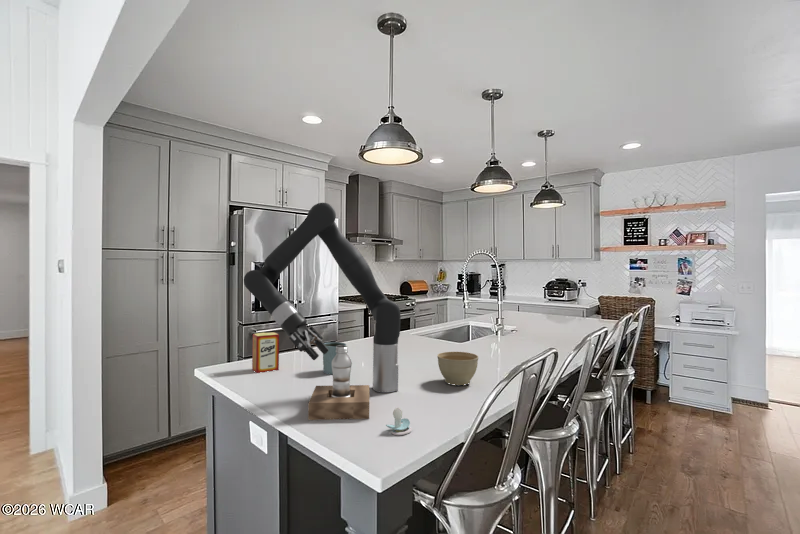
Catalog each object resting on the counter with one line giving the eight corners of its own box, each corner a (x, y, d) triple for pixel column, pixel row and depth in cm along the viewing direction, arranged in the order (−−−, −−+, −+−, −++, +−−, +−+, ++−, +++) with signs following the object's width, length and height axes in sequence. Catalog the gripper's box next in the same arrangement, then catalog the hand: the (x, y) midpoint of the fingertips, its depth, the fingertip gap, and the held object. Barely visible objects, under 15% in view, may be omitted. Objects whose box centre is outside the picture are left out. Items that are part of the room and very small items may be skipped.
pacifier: (416, 432, 109) (402, 424, 113) (417, 409, 109) (403, 403, 113) (397, 439, 104) (382, 431, 109) (398, 416, 104) (383, 409, 108)
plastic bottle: (341, 404, 130) (342, 343, 130) (355, 408, 125) (356, 346, 125) (326, 409, 125) (326, 346, 125) (340, 414, 120) (341, 349, 120)
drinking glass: (321, 369, 173) (321, 342, 173) (343, 368, 176) (344, 341, 176) (323, 375, 163) (323, 346, 163) (347, 374, 166) (348, 345, 166)
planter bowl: (476, 377, 163) (476, 351, 163) (480, 390, 147) (480, 360, 147) (437, 376, 164) (437, 350, 164) (436, 388, 148) (437, 359, 148)
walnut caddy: (369, 399, 134) (369, 385, 134) (369, 418, 117) (369, 402, 117) (315, 400, 133) (316, 385, 133) (308, 419, 116) (308, 403, 116)
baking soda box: (274, 366, 176) (274, 331, 176) (278, 370, 171) (279, 333, 171) (252, 369, 171) (252, 333, 171) (256, 373, 165) (256, 335, 166)
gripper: (286, 313, 121) (321, 352, 119) (305, 308, 135) (337, 343, 133) (270, 329, 122) (304, 368, 120) (291, 323, 136) (322, 358, 134)
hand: (321, 355), depth 126 cm, fingers open, 8 cm apart
